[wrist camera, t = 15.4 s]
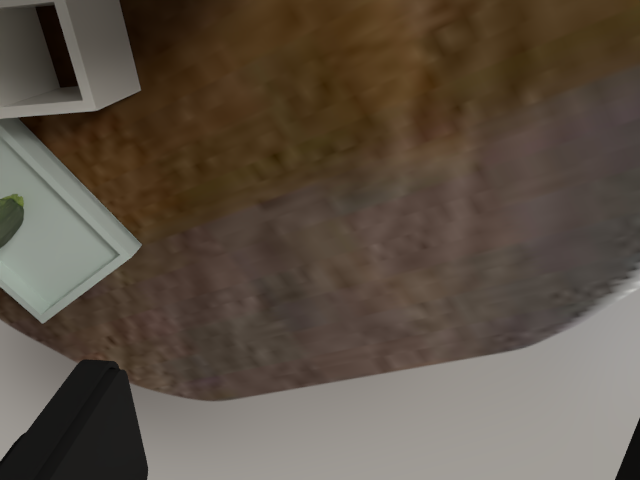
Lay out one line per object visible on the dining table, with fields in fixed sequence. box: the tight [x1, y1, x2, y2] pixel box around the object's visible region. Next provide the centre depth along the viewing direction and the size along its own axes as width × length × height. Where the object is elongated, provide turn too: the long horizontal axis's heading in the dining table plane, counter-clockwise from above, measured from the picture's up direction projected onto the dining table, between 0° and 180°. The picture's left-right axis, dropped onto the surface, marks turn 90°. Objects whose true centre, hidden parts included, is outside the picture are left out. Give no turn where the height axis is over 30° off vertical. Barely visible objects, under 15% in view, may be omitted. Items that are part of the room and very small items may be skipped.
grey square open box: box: [0, 0, 141, 119], centre depth 39 cm, size 8×8×8 cm
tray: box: [0, 117, 142, 324], centre depth 48 cm, size 20×14×2 cm
